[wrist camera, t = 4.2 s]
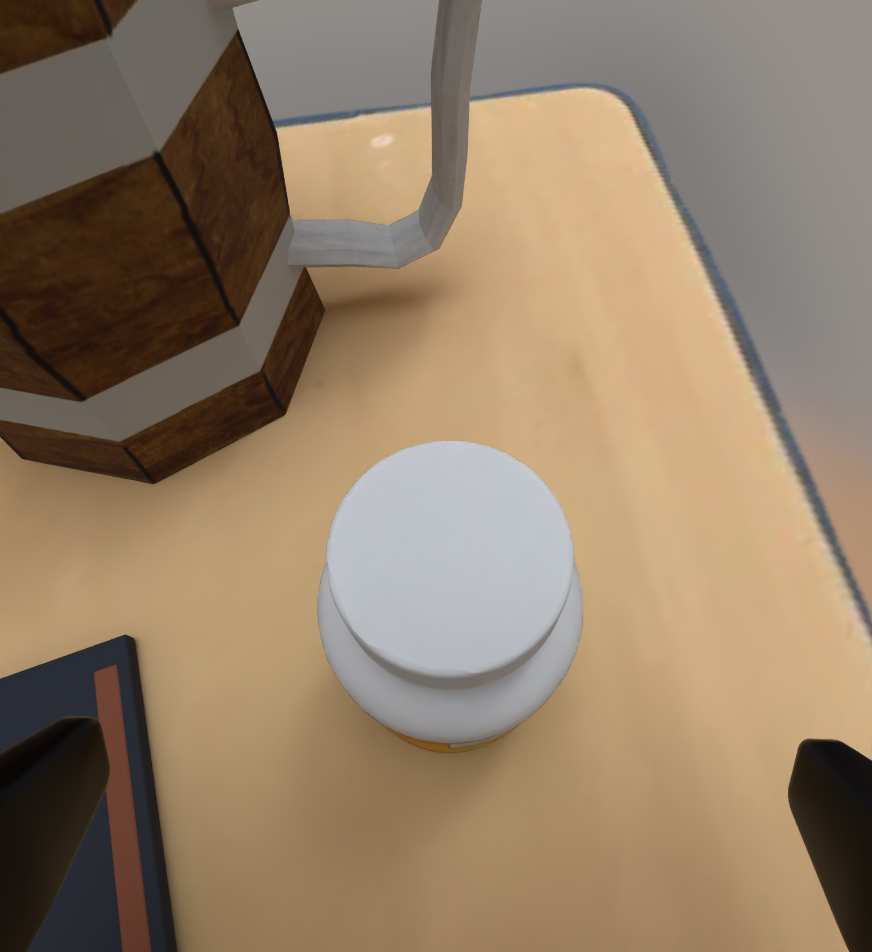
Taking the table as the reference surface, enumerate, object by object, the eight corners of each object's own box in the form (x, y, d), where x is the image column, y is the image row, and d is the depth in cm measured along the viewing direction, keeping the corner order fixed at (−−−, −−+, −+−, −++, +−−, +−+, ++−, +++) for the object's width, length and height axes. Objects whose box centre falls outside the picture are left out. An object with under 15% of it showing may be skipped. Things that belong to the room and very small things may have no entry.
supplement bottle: (335, 615, 19) (234, 476, 10) (487, 544, 20) (514, 361, 11) (406, 790, 16) (354, 805, 8) (573, 700, 17) (693, 625, 9)
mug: (-45, 517, 21) (-971, 34, 7) (9, 243, 27) (-440, -297, 13) (510, 421, 22) (604, -145, 8) (441, 180, 28) (431, -373, 14)
